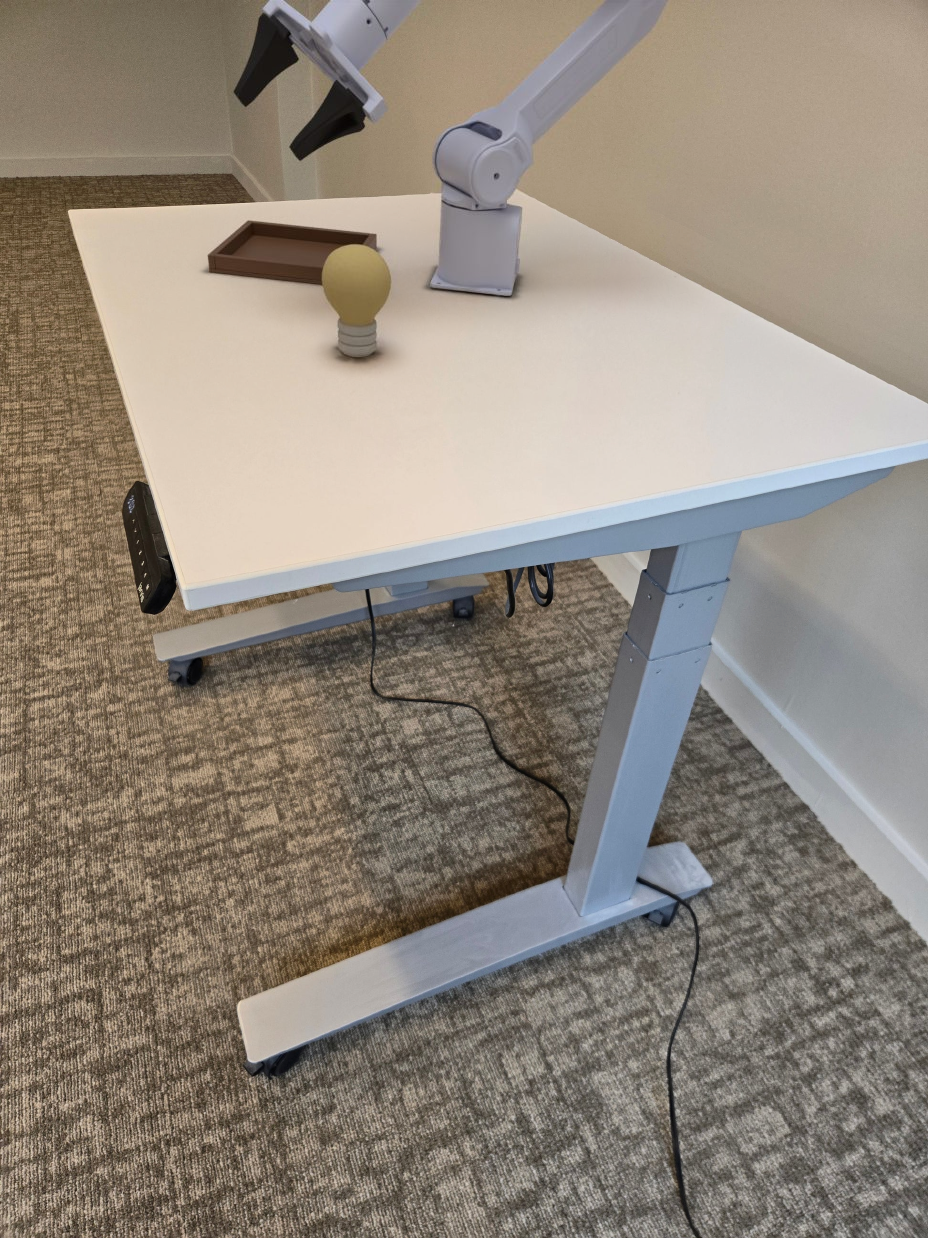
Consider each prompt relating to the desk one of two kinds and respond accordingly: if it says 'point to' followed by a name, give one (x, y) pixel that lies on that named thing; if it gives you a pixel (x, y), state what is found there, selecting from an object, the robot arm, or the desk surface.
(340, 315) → the light bulb
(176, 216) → the desk surface
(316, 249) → the tray
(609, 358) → the desk surface
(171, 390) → the desk surface
